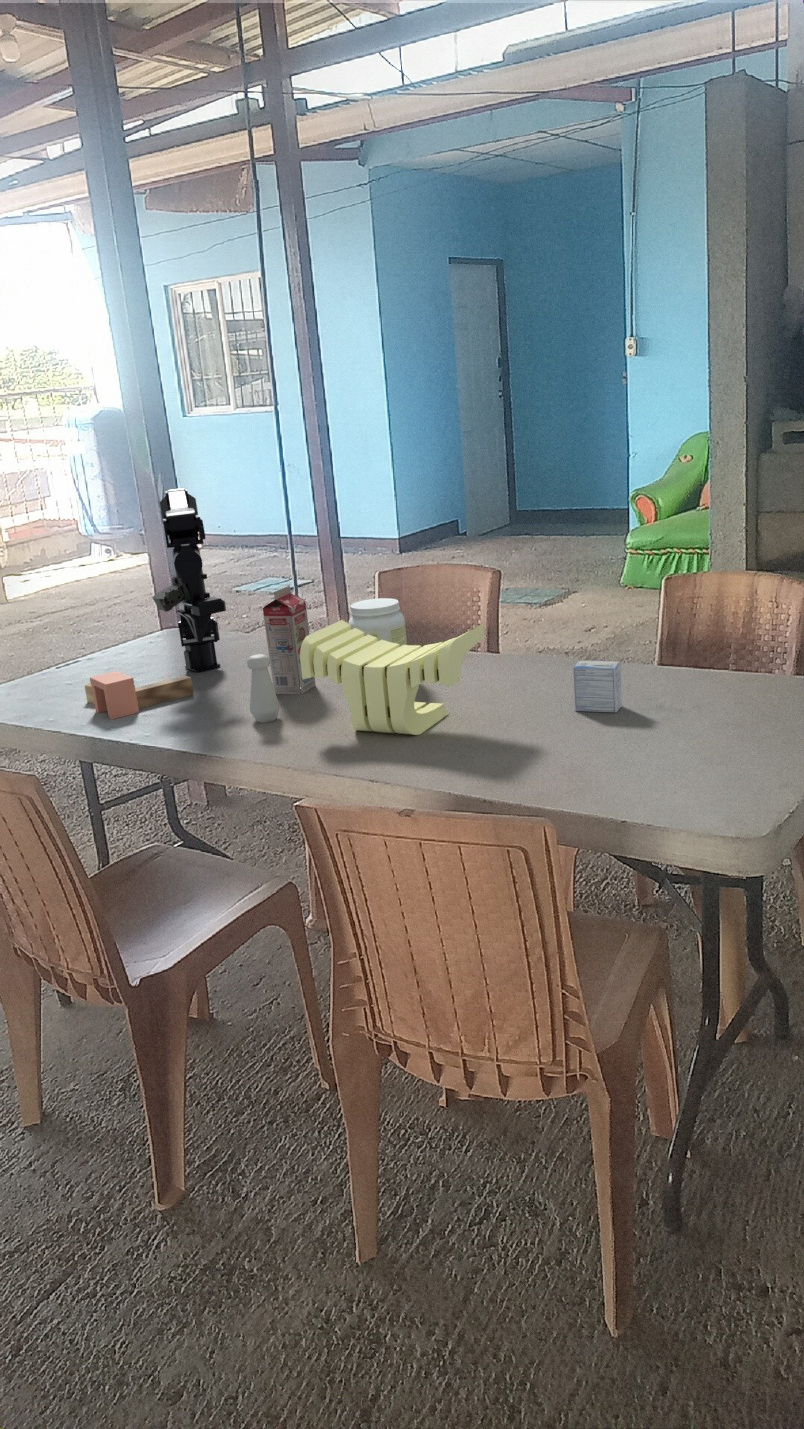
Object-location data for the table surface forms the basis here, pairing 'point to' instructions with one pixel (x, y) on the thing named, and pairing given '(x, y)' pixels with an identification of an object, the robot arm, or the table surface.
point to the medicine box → (597, 686)
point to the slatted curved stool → (385, 675)
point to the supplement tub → (379, 619)
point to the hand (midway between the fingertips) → (199, 641)
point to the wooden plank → (164, 691)
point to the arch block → (114, 694)
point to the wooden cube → (89, 693)
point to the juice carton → (286, 641)
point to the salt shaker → (262, 690)
